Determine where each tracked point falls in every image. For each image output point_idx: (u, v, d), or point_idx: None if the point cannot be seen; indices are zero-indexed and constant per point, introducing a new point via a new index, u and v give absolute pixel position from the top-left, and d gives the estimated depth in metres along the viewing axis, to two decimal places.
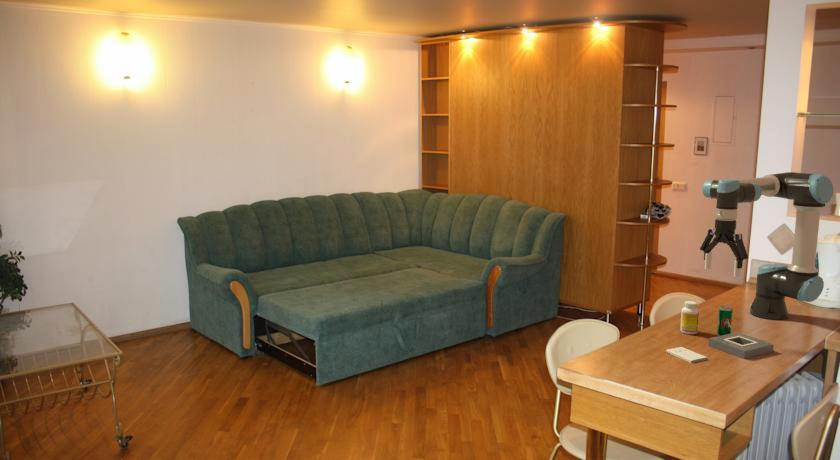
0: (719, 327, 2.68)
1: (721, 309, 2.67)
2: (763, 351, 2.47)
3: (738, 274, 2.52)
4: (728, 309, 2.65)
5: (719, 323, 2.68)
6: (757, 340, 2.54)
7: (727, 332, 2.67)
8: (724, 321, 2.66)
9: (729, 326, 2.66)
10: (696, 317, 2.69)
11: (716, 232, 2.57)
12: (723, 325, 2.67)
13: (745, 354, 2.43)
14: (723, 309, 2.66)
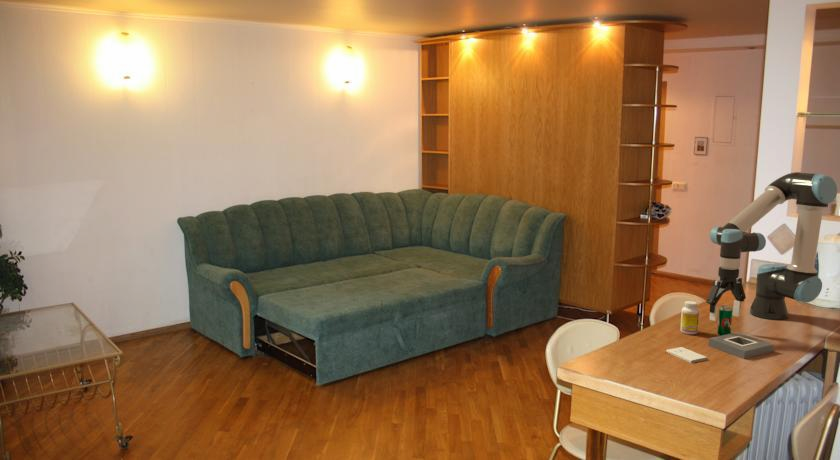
0: (719, 327, 2.68)
1: (721, 309, 2.67)
2: (763, 351, 2.47)
3: (713, 318, 2.64)
4: (728, 309, 2.65)
5: (719, 323, 2.68)
6: (757, 340, 2.54)
7: (727, 332, 2.67)
8: (724, 321, 2.66)
9: (729, 326, 2.66)
10: (696, 317, 2.69)
11: None
12: (723, 325, 2.67)
13: (745, 354, 2.43)
14: (723, 309, 2.66)
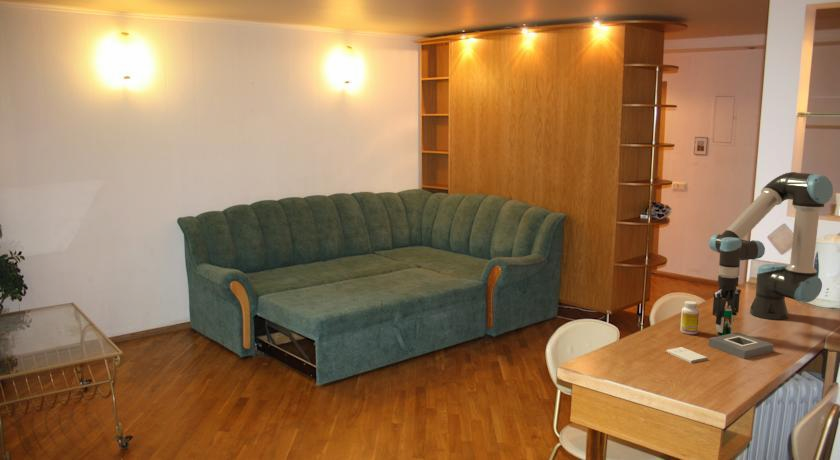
0: None
1: None
2: (763, 351, 2.47)
3: (719, 330, 2.67)
4: (728, 309, 2.65)
5: None
6: (757, 340, 2.54)
7: (727, 332, 2.67)
8: (724, 321, 2.66)
9: (729, 326, 2.66)
10: (696, 317, 2.69)
11: None
12: (723, 325, 2.67)
13: (745, 354, 2.43)
14: None
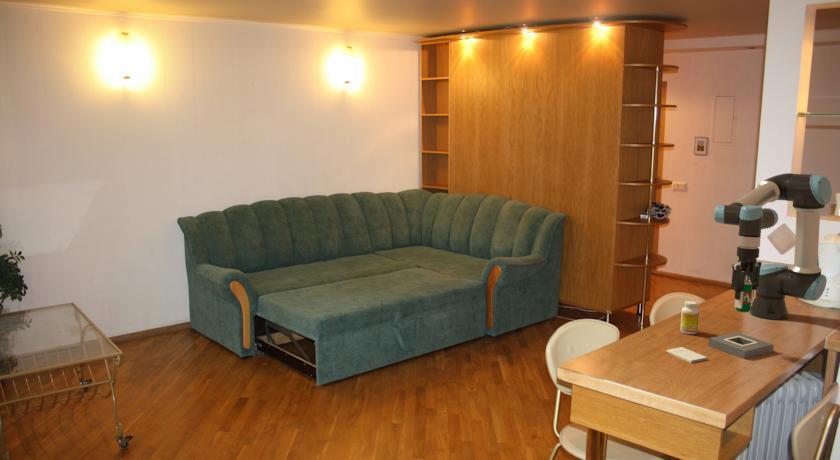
0: None
1: None
2: (763, 351, 2.47)
3: (738, 306, 2.49)
4: (748, 283, 2.47)
5: None
6: (757, 340, 2.54)
7: (747, 307, 2.48)
8: (743, 296, 2.48)
9: (749, 301, 2.48)
10: (696, 317, 2.69)
11: None
12: None
13: (745, 354, 2.43)
14: None
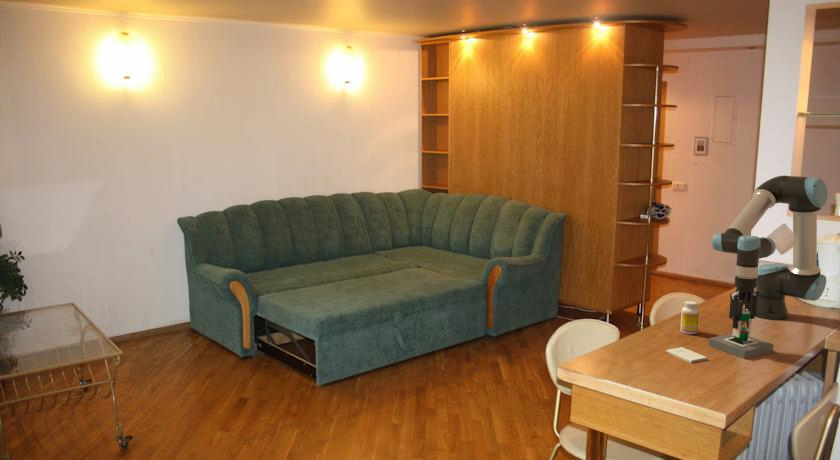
0: None
1: None
2: (763, 351, 2.47)
3: (736, 335, 2.51)
4: (745, 312, 2.49)
5: None
6: (757, 340, 2.54)
7: (744, 336, 2.50)
8: (741, 325, 2.50)
9: (746, 330, 2.50)
10: (696, 317, 2.69)
11: None
12: (740, 329, 2.50)
13: (745, 354, 2.43)
14: None
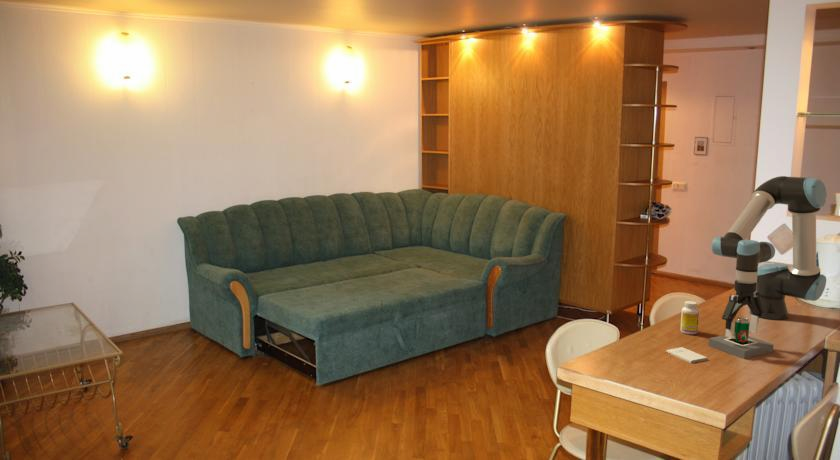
0: (735, 340, 2.52)
1: (737, 321, 2.51)
2: (763, 351, 2.47)
3: (729, 335, 2.49)
4: (745, 321, 2.49)
5: (735, 336, 2.52)
6: (757, 340, 2.54)
7: None
8: (740, 334, 2.50)
9: (746, 339, 2.50)
10: (696, 317, 2.69)
11: None
12: (739, 338, 2.51)
13: (745, 354, 2.43)
14: (740, 321, 2.50)
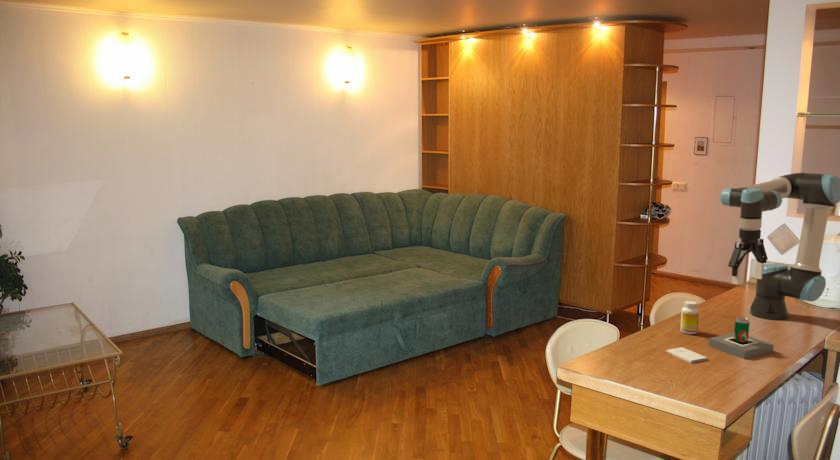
0: (735, 340, 2.52)
1: (737, 321, 2.51)
2: (763, 351, 2.47)
3: (735, 282, 2.56)
4: (745, 321, 2.49)
5: (735, 336, 2.52)
6: (757, 340, 2.54)
7: None
8: (740, 334, 2.50)
9: (746, 339, 2.50)
10: (696, 317, 2.69)
11: None
12: (739, 338, 2.51)
13: (745, 354, 2.43)
14: (739, 321, 2.50)
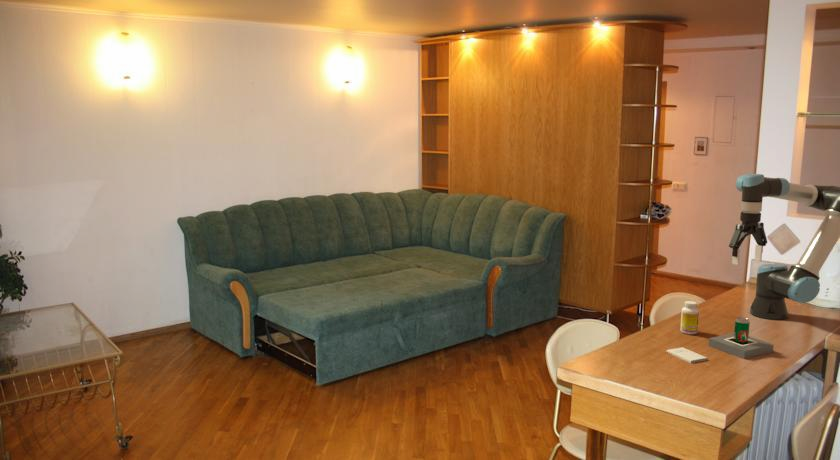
0: (735, 340, 2.52)
1: (737, 321, 2.51)
2: (763, 351, 2.47)
3: (735, 262, 2.68)
4: (745, 321, 2.49)
5: (735, 336, 2.52)
6: (757, 340, 2.54)
7: None
8: (740, 334, 2.50)
9: (746, 339, 2.50)
10: (696, 317, 2.69)
11: None
12: (739, 338, 2.51)
13: (745, 354, 2.43)
14: (740, 321, 2.50)
